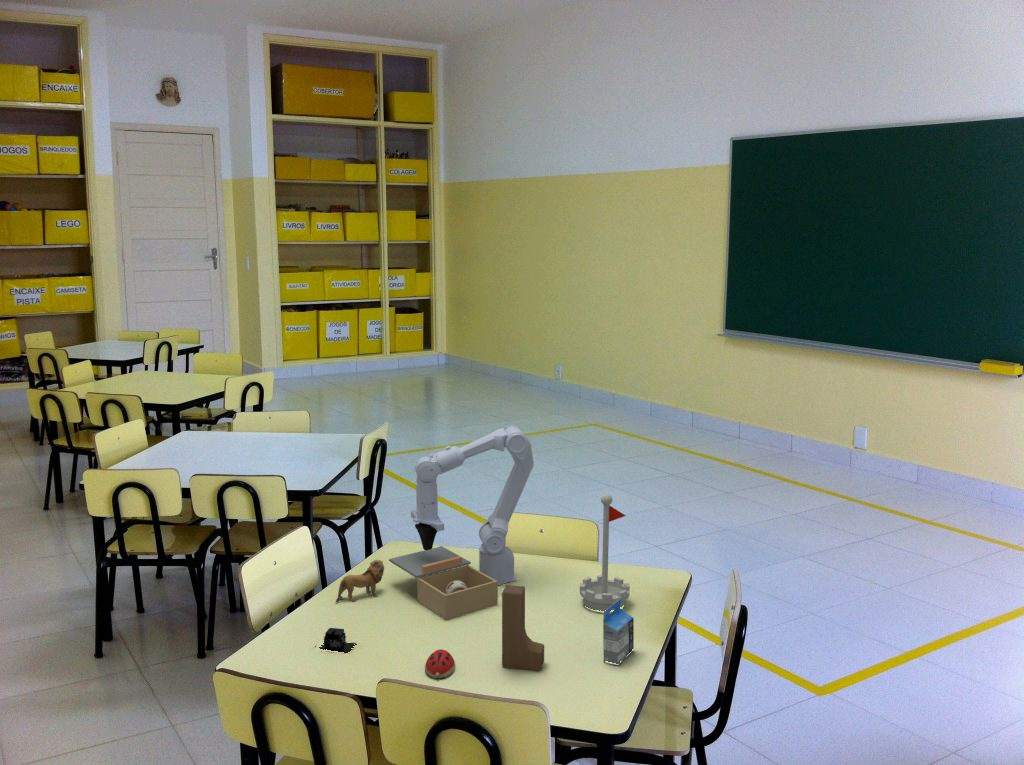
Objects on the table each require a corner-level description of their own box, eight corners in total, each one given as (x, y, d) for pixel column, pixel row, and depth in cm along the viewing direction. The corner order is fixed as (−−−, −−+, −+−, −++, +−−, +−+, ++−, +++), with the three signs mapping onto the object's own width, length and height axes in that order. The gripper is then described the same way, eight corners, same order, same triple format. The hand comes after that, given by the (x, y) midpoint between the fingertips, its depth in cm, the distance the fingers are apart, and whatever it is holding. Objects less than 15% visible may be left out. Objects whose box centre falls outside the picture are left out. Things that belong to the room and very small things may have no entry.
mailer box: (468, 587, 245) (468, 564, 244) (497, 604, 234) (497, 581, 232) (417, 601, 235) (417, 578, 234) (445, 620, 224) (445, 595, 223)
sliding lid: (441, 548, 255) (441, 540, 255) (470, 564, 243) (470, 555, 243) (389, 561, 246) (388, 552, 245) (416, 578, 234) (416, 569, 233)
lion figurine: (378, 587, 245) (377, 555, 243) (389, 593, 241) (388, 561, 239) (330, 601, 236) (329, 568, 234) (341, 607, 232) (339, 574, 230)
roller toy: (471, 605, 233) (471, 584, 232) (447, 608, 231) (447, 587, 230) (467, 598, 237) (466, 578, 236) (443, 601, 235) (443, 581, 234)
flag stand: (572, 609, 231) (574, 498, 225) (587, 591, 242) (589, 484, 237) (621, 618, 226) (624, 504, 221) (634, 598, 238) (637, 490, 233)
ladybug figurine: (455, 659, 204) (455, 645, 204) (454, 681, 195) (454, 666, 194) (426, 659, 204) (426, 645, 204) (423, 681, 195) (423, 666, 194)
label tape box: (617, 666, 201) (619, 615, 199) (601, 662, 203) (602, 611, 201) (634, 651, 208) (635, 601, 206) (618, 647, 210) (619, 597, 208)
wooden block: (544, 662, 203) (545, 587, 200) (541, 671, 198) (541, 595, 195) (505, 658, 205) (505, 584, 202) (501, 667, 200) (501, 591, 197)
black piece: (304, 653, 208) (303, 635, 207) (316, 639, 215) (315, 621, 214) (355, 658, 206) (354, 639, 205) (365, 644, 213) (365, 625, 212)
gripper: (401, 497, 246) (401, 544, 248) (427, 510, 234) (428, 559, 237) (423, 493, 250) (423, 539, 252) (450, 506, 238) (451, 554, 241)
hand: (427, 549), depth 245 cm, fingers closed
